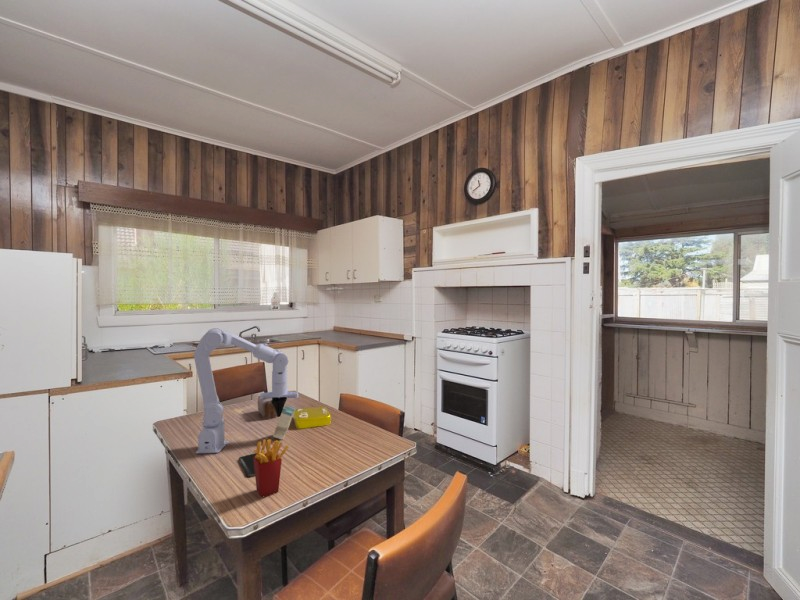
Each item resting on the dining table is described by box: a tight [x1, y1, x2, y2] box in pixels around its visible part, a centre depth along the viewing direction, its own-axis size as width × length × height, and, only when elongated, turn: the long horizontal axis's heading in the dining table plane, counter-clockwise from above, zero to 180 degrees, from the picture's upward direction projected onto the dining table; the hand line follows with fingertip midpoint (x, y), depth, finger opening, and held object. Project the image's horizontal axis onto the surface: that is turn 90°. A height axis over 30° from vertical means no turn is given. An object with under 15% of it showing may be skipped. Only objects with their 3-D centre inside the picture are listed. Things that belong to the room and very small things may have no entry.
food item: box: [257, 395, 278, 420], centre depth 166 cm, size 14×8×10 cm, turn 34°
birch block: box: [272, 405, 296, 441], centre depth 141 cm, size 6×4×11 cm, turn 5°
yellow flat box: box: [293, 405, 332, 430], centre depth 158 cm, size 15×15×5 cm
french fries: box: [253, 438, 290, 498], centre depth 103 cm, size 9×8×15 cm
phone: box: [238, 451, 261, 479], centre depth 117 cm, size 8×1×15 cm
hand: (279, 415), depth 140 cm, fingers closed
